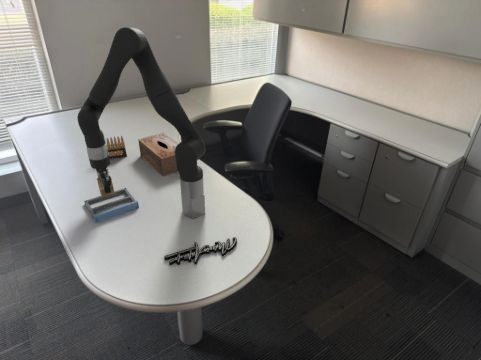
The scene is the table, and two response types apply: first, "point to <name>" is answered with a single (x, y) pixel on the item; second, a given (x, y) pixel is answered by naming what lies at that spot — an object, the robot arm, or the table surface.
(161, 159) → the tissue box cover
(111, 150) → the ammunition clip
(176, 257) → the nameplate
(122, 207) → the organizer
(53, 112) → the table surface
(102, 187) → the plug block
